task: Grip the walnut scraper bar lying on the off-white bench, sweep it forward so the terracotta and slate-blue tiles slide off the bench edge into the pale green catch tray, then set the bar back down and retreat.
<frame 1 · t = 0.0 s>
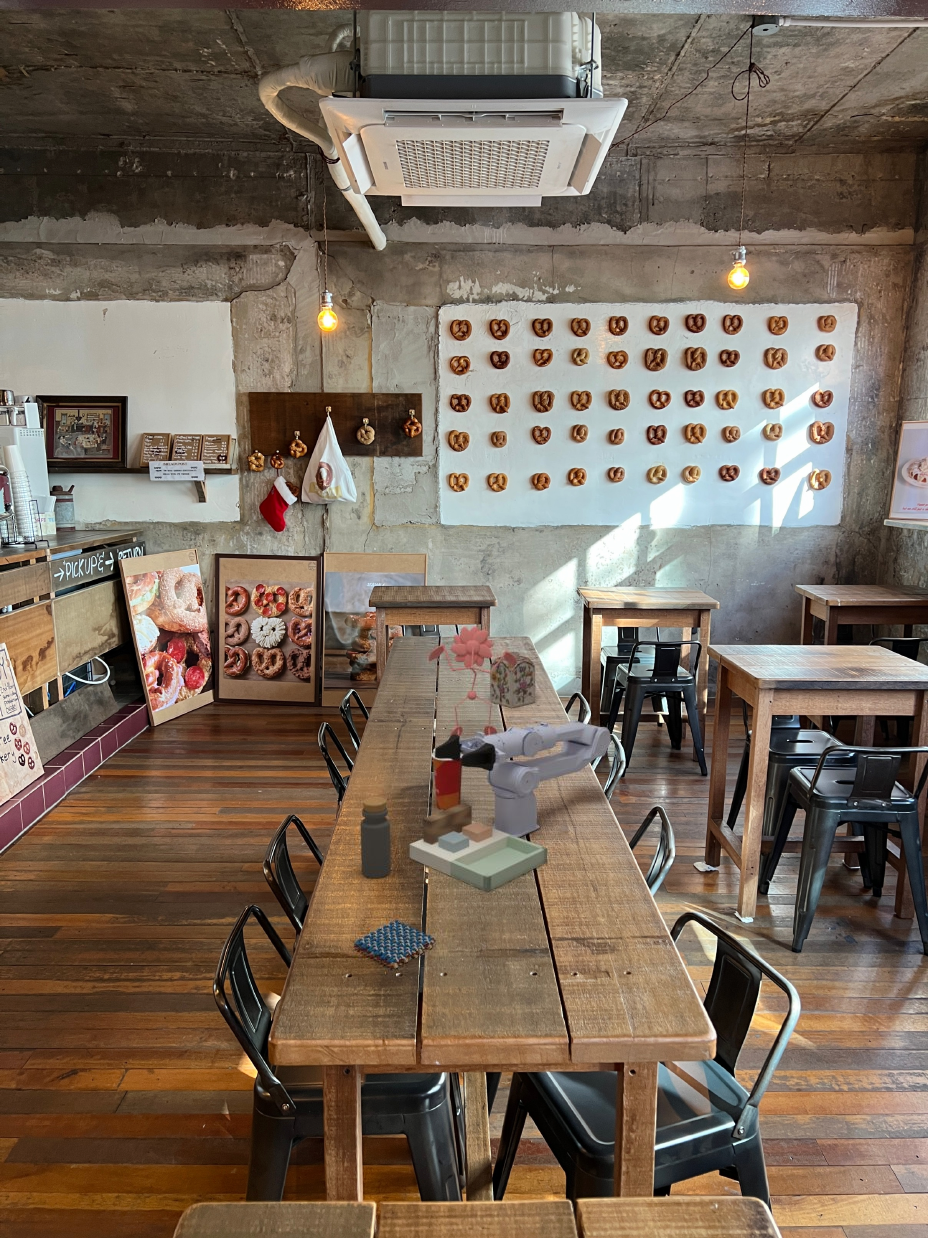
hand: (449, 757, 178), 22 cm above the table, tool horizontal, fingers open, 7 cm apart
catch tray: (499, 868, 176), on the table
bottle: (376, 873, 175), on the table
bench: (460, 853, 183), on the table
woven mat: (395, 950, 147), on the table
tile a: (477, 836, 184), point 3 cm above the table, touching bench
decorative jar: (512, 703, 306), on the table
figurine: (472, 741, 261), on the table
paper cup: (448, 806, 210), on the table
scraper bar: (448, 834, 185), point 3 cm above the table, touching bench
tile b: (453, 846, 179), point 3 cm above the table, touching bench
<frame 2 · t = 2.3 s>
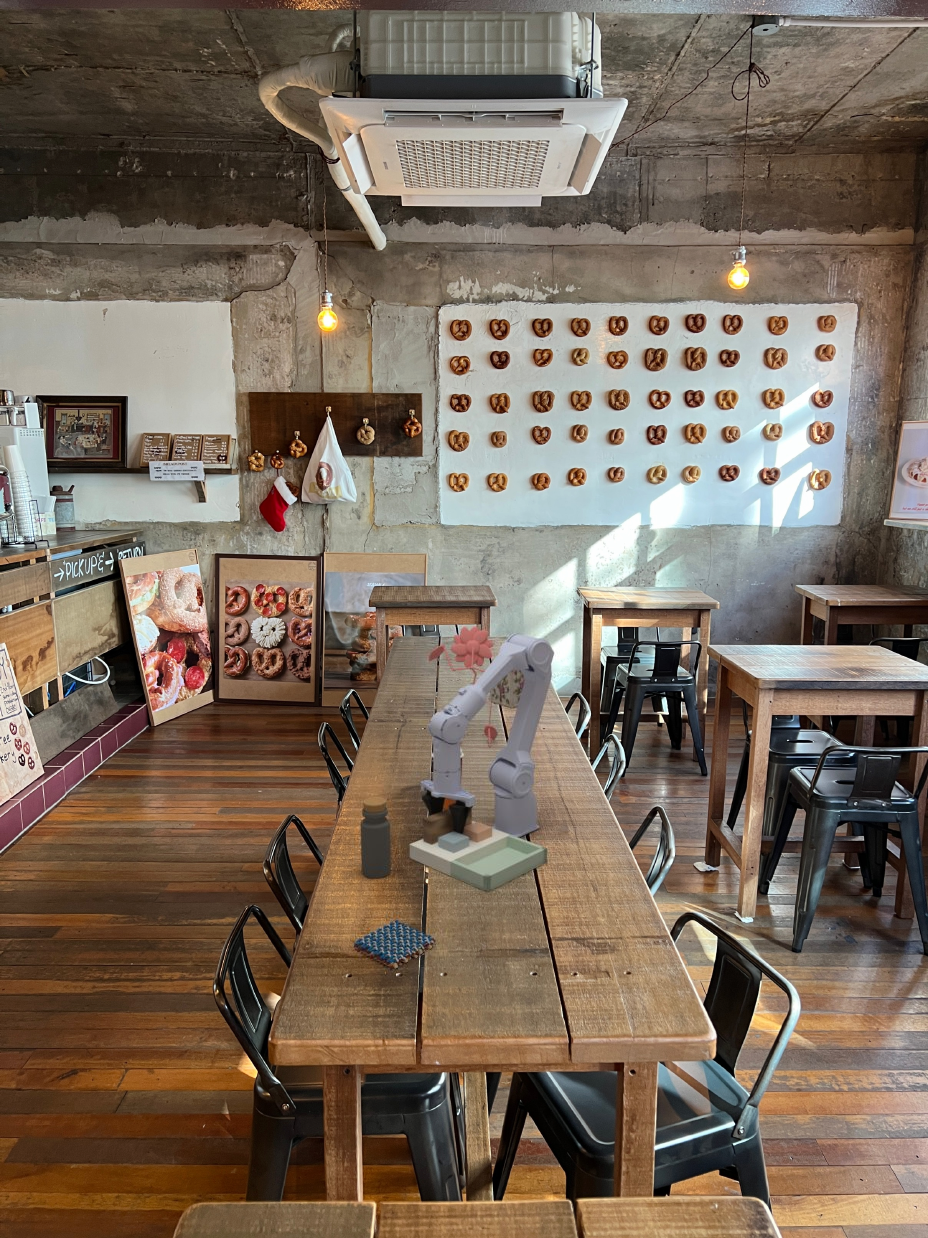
hand: (448, 830, 185), 4 cm above the table, tool pointing down, fingers open, 6 cm apart
nothing on the table moved.
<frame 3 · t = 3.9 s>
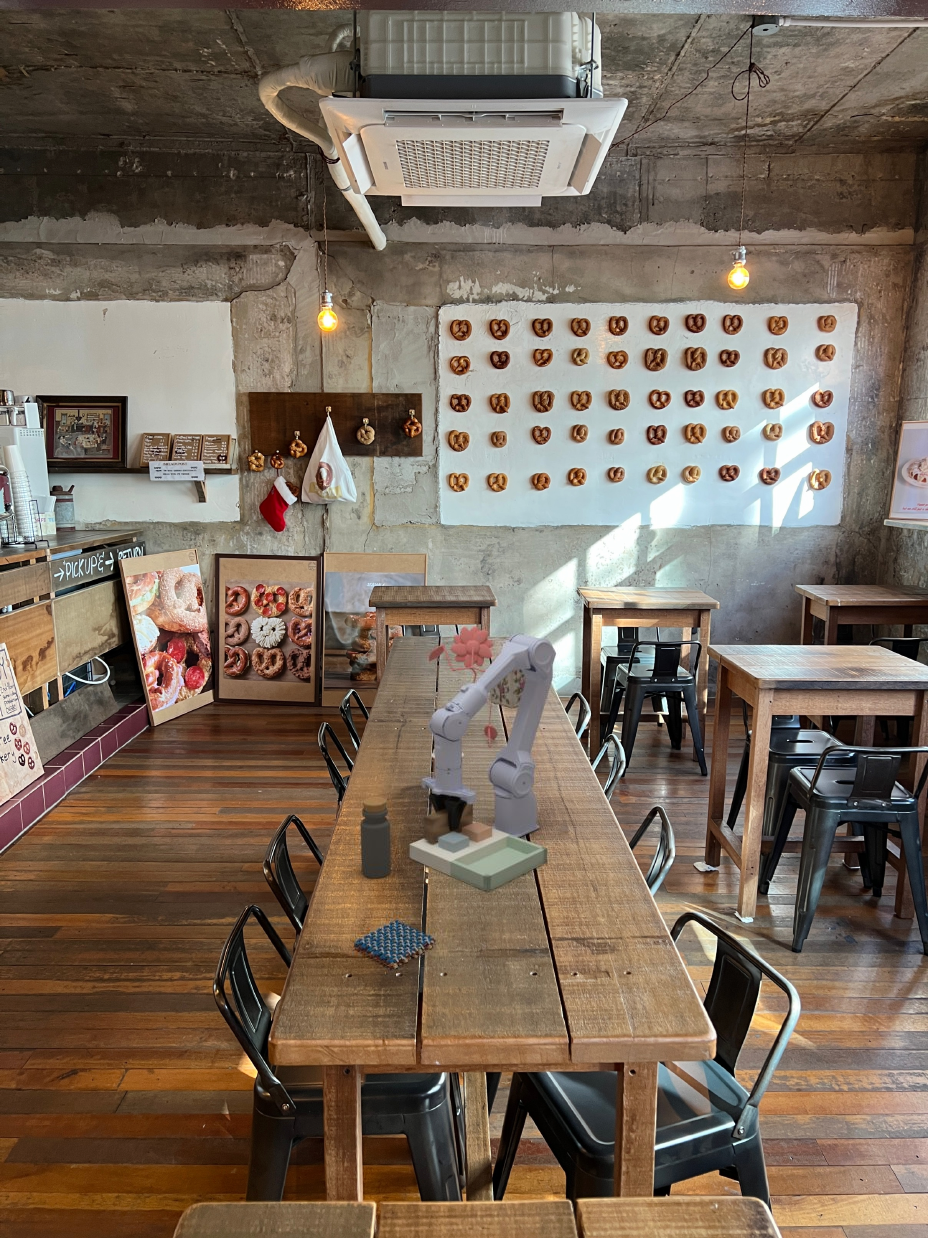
hand: (449, 827, 185), 5 cm above the table, tool pointing down, fingers closed on scraper bar, 2 cm apart
scraper bar: (449, 832, 185), point 4 cm above the table, touching gripper
everything else where it was.
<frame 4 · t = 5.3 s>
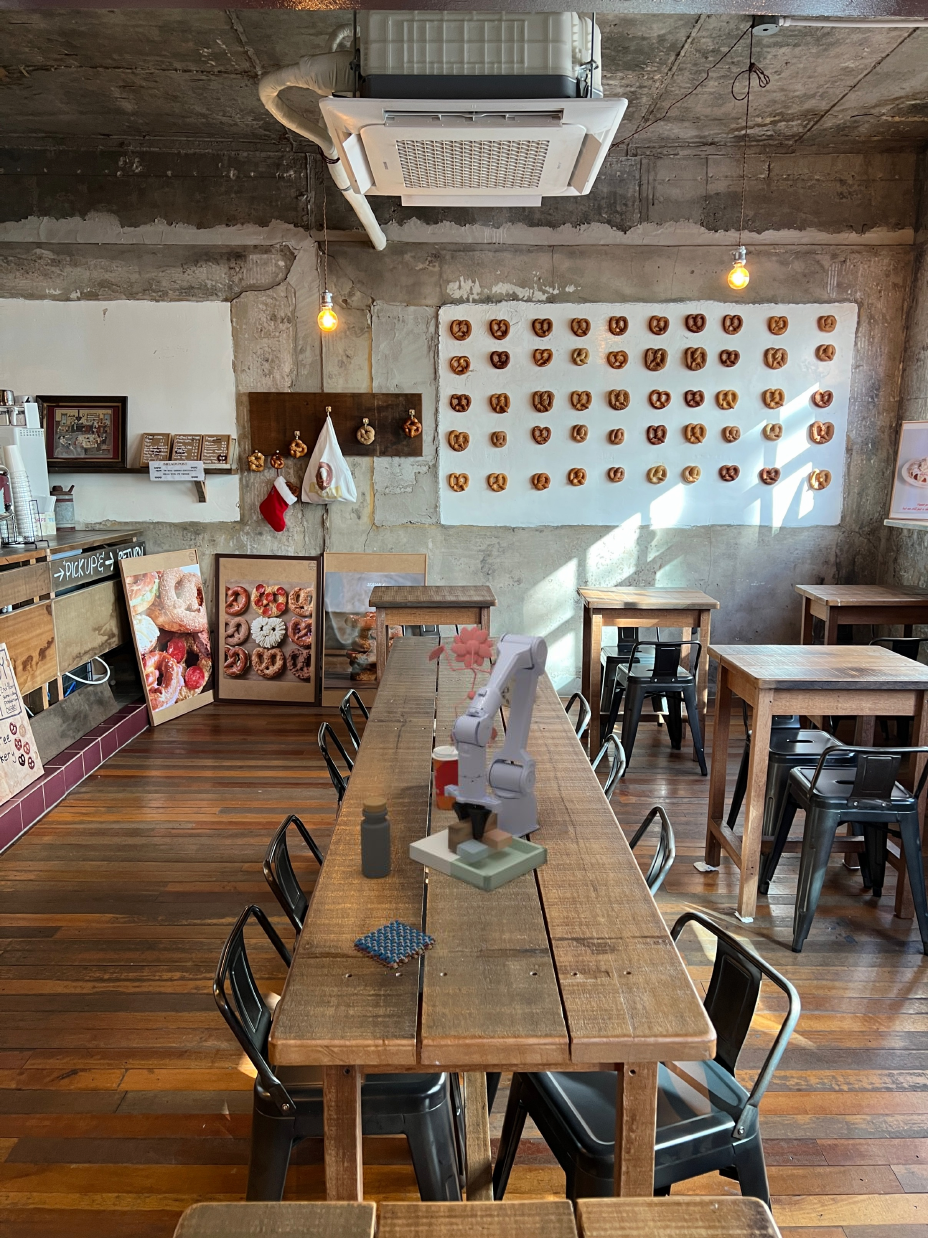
hand: (472, 836, 180), 5 cm above the table, tool pointing down, fingers closed on scraper bar, 2 cm apart
tile a: (496, 843, 180), point 3 cm above the table
scraper bar: (472, 842, 180), point 3 cm above the table, touching gripper
tile b: (472, 855, 175), point 3 cm above the table
everything else where it was.
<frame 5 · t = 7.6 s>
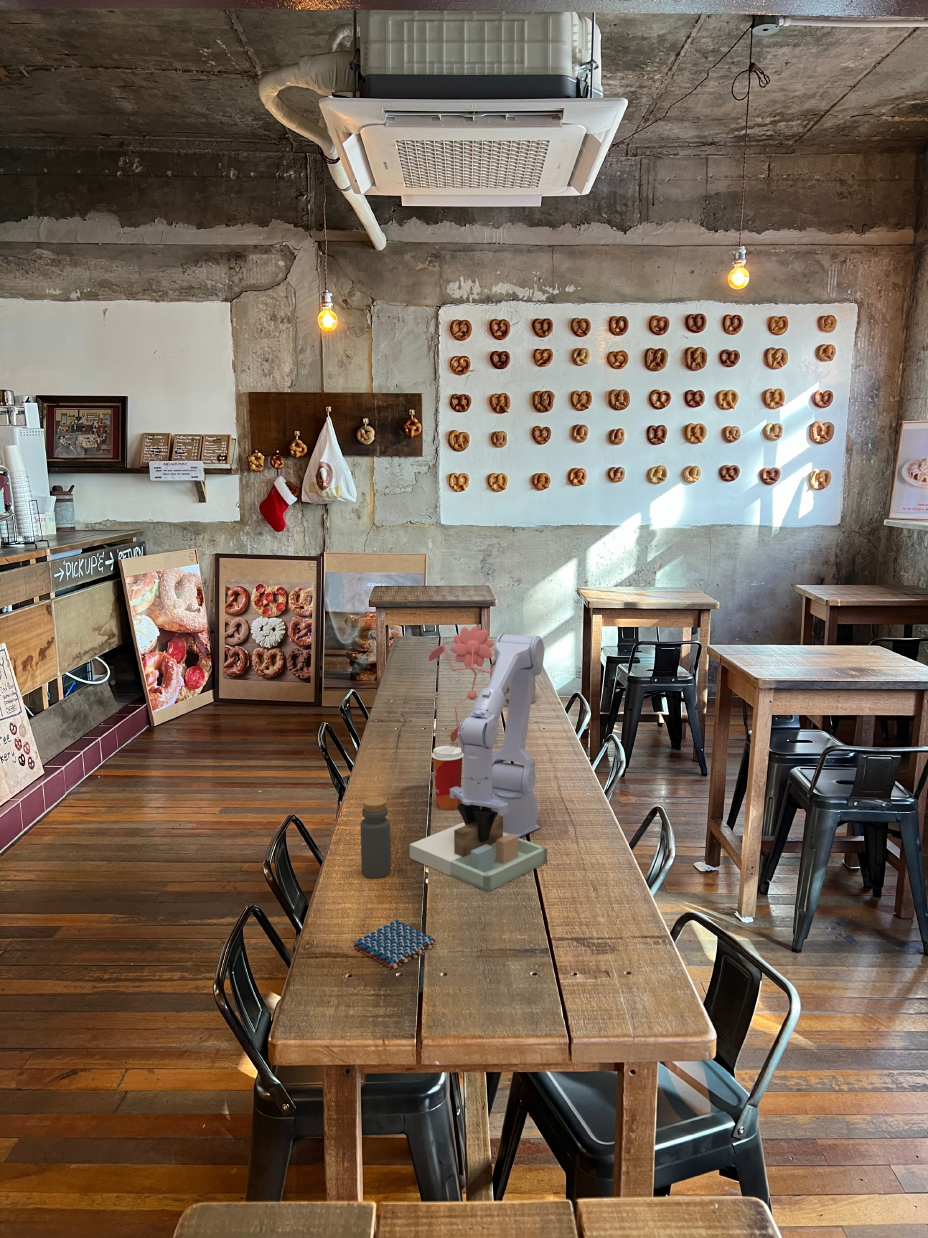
hand: (478, 838, 179), 5 cm above the table, tool pointing down, fingers closed on scraper bar, 2 cm apart
tile a: (503, 847, 179), point 3 cm above the table, tilted 90°, touching catch tray
scraper bar: (479, 846, 179), point 3 cm above the table, touching bench, gripper
tile b: (478, 858, 174), point 3 cm above the table, tilted 90°, touching catch tray
everything else where it was.
when the fingers open (4 cm above the table, at t = 9.0 s): scraper bar stays where it is, resting on bench.
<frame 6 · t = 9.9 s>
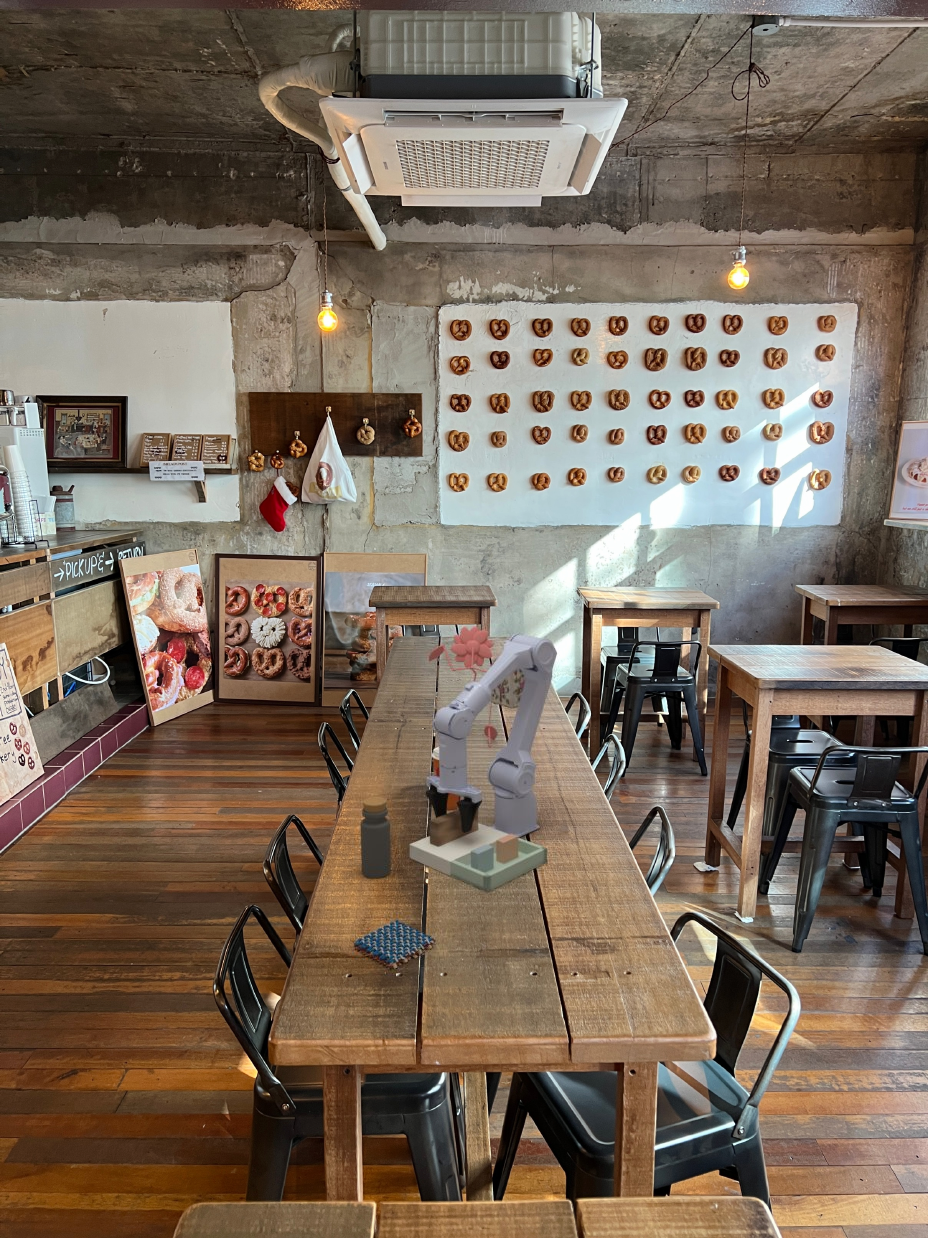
hand: (454, 826, 184), 5 cm above the table, tool pointing down, fingers open, 7 cm apart
scraper bar: (454, 836, 184), point 3 cm above the table, touching bench
everything else where it was.
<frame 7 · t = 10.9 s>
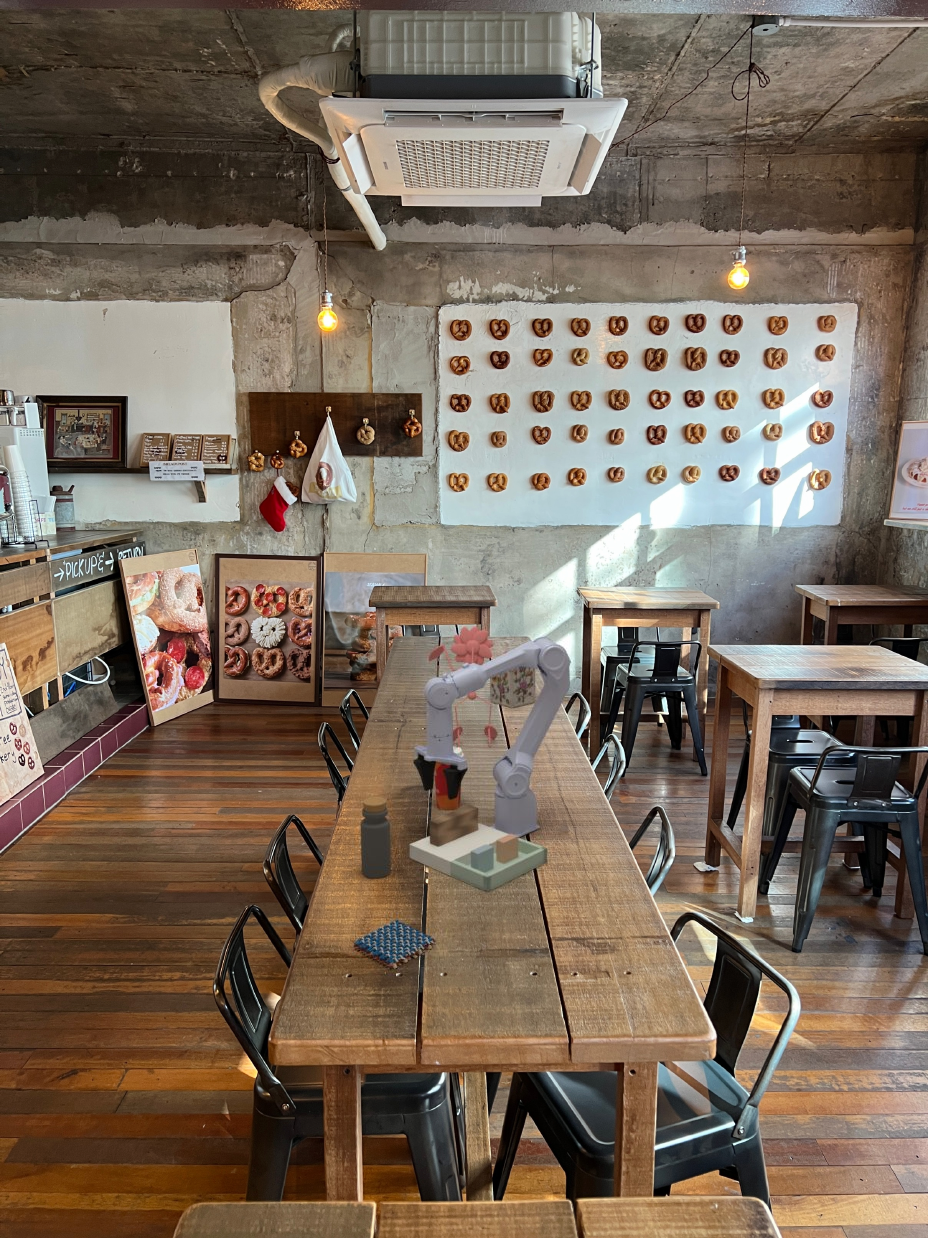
hand: (440, 794, 190), 10 cm above the table, tool pointing down, fingers open, 7 cm apart
nothing on the table moved.
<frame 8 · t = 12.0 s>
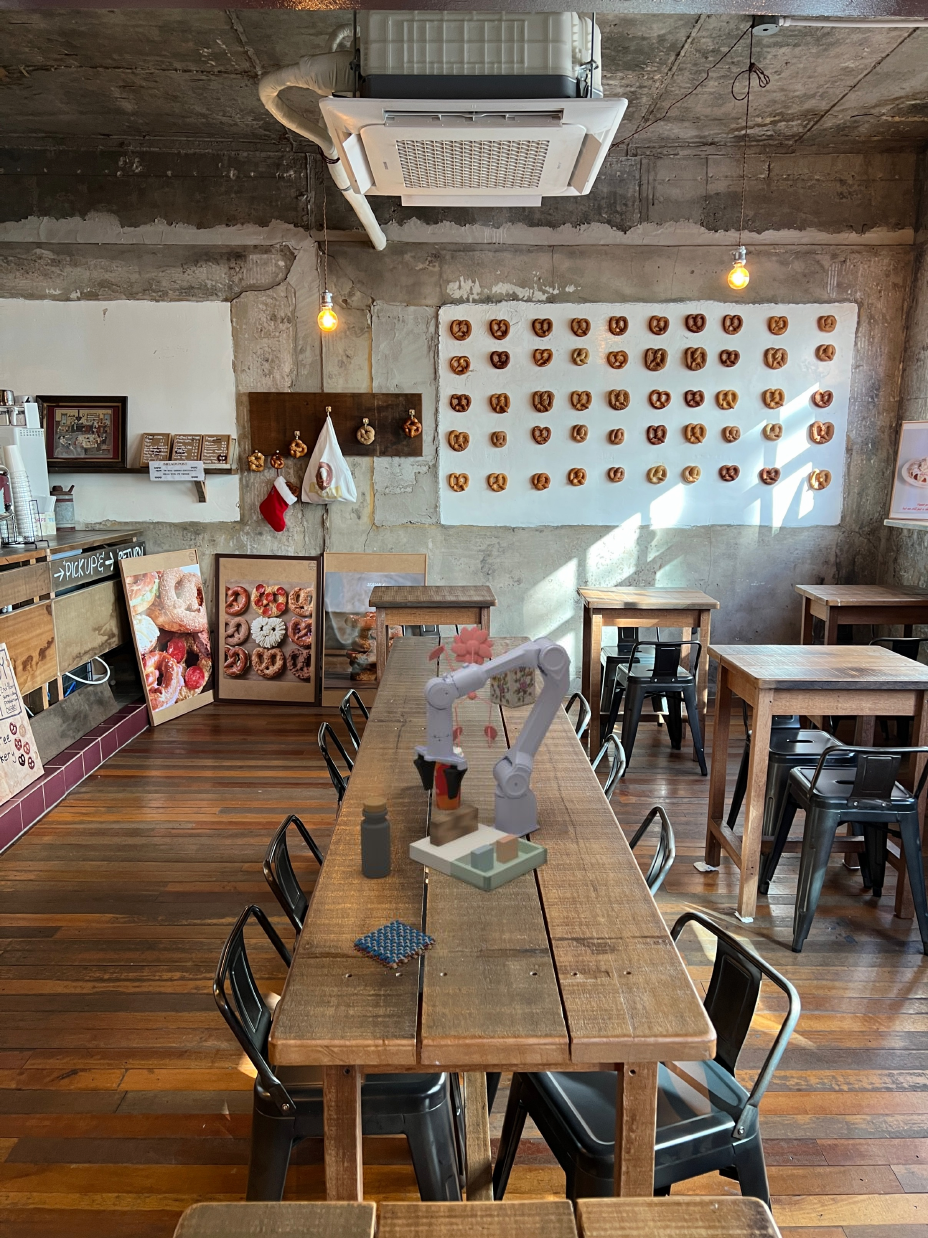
hand: (440, 794, 190), 10 cm above the table, tool pointing down, fingers open, 7 cm apart
nothing on the table moved.
at the end: tile a inside the target area (4.3 cm from its centre), point 2.8 cm above the table; tile b inside the target area (4.5 cm from its centre), point 2.8 cm above the table; the gripper is holding nothing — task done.
